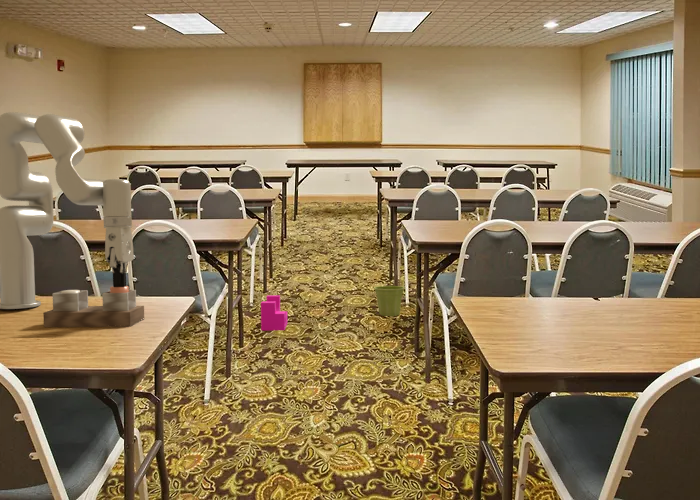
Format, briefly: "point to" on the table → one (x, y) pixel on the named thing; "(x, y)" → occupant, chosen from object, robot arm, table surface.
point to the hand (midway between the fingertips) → (119, 286)
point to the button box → (93, 310)
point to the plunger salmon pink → (119, 289)
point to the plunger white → (70, 291)
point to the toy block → (273, 314)
